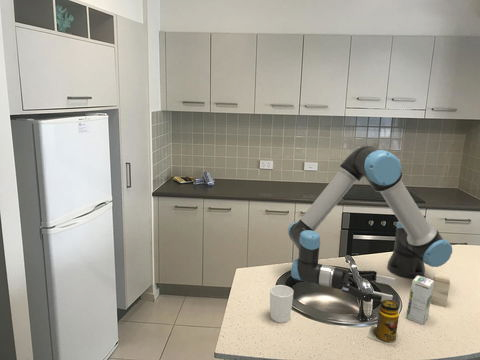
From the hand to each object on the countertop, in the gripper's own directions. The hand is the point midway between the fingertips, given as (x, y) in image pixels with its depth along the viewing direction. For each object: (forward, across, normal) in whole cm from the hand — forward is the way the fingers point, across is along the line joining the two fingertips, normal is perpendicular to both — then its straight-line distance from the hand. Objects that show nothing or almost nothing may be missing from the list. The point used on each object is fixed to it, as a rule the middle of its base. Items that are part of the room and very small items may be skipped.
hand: (393, 290), depth 137 cm
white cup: (-34, +21, -9) cm, 41 cm away
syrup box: (+9, 0, -9) cm, 12 cm away
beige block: (+16, -15, -8) cm, 23 cm away
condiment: (-1, +16, -9) cm, 18 cm away
